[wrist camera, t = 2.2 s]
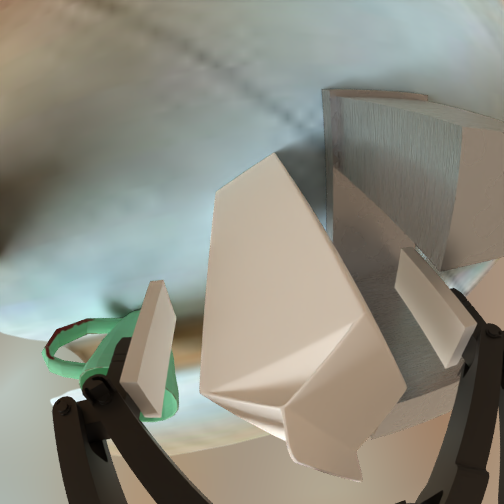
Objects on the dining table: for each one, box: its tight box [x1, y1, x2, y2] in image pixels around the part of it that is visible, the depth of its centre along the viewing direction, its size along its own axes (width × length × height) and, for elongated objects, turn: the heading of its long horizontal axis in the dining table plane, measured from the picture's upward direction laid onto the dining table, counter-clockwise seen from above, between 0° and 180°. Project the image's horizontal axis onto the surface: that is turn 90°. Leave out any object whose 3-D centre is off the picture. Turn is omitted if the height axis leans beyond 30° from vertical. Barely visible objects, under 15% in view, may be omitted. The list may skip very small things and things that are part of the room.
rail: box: [322, 89, 504, 440], centre depth 21 cm, size 24×9×16 cm, turn 6°
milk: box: [200, 153, 407, 482], centre depth 16 cm, size 6×6×22 cm
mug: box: [42, 310, 179, 422], centre depth 28 cm, size 15×10×10 cm
